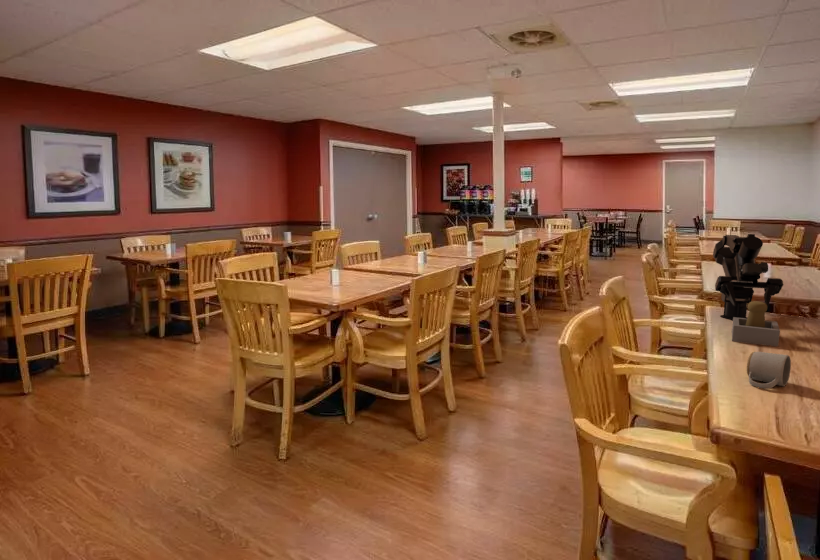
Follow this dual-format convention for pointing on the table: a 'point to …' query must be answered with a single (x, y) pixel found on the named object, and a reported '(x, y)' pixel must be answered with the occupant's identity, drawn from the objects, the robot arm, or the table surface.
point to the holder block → (755, 332)
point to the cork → (756, 314)
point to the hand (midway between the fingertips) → (750, 306)
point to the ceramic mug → (768, 369)
